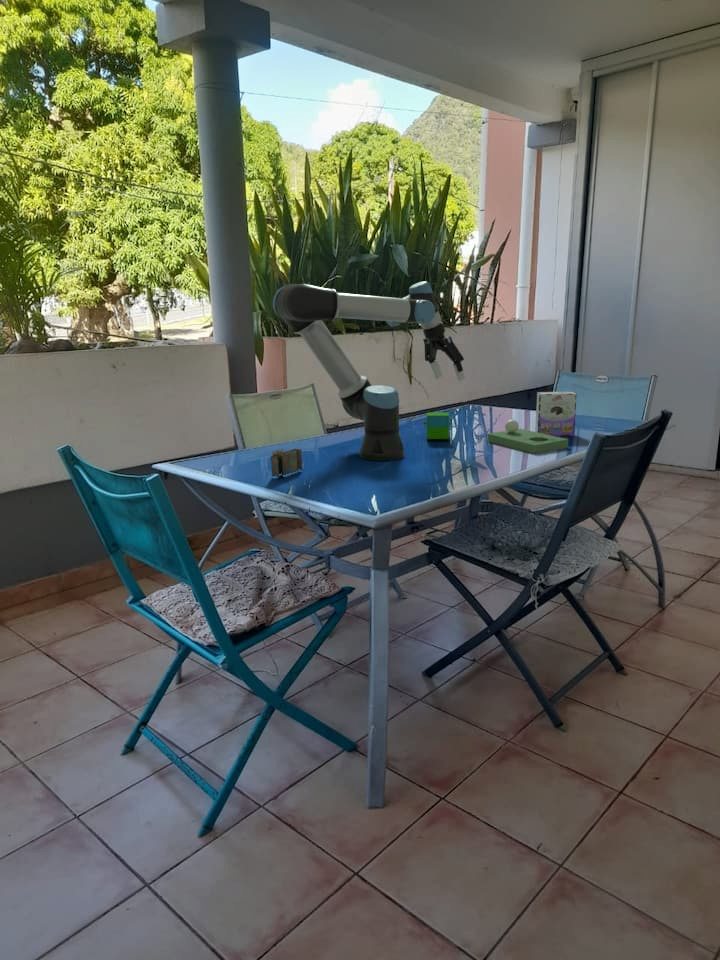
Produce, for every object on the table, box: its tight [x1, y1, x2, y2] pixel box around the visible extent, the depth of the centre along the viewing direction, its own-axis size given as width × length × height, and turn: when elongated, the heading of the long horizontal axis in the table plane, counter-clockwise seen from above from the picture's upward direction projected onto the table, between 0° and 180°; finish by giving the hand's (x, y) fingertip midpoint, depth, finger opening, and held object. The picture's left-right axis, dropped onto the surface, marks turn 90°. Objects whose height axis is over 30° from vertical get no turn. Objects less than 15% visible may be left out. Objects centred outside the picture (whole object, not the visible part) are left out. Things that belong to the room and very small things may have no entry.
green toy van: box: [423, 412, 452, 442], centre depth 253 cm, size 10×13×10 cm
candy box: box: [534, 391, 577, 437], centre depth 252 cm, size 14×6×16 cm, turn 84°
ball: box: [504, 418, 520, 433], centre depth 245 cm, size 5×5×5 cm
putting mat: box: [486, 428, 569, 454], centre depth 240 cm, size 16×24×3 cm, turn 30°
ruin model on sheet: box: [270, 448, 303, 478], centre depth 205 cm, size 11×3×10 cm, turn 145°
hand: (450, 378), depth 248 cm, fingers open, 13 cm apart
